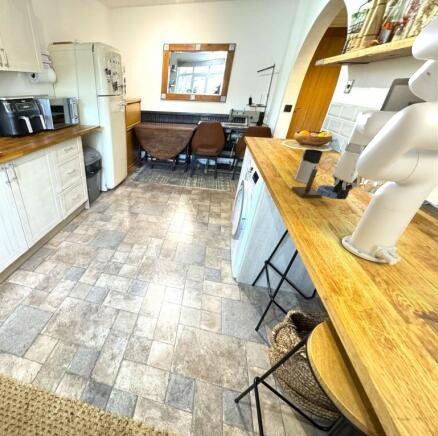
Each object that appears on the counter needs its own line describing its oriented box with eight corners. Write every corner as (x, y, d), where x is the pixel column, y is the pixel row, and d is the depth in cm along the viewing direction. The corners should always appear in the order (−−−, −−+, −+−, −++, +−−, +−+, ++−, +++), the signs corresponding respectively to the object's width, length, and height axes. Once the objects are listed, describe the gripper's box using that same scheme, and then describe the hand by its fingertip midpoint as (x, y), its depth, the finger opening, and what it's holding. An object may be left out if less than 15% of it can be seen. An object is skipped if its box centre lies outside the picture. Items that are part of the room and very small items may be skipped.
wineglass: (349, 174, 112) (383, 176, 106) (345, 176, 118) (377, 179, 112) (346, 188, 112) (379, 191, 107) (342, 190, 118) (374, 193, 113)
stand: (321, 197, 106) (332, 173, 100) (301, 197, 106) (310, 172, 100) (310, 189, 113) (319, 166, 108) (291, 189, 114) (299, 166, 108)
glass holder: (298, 175, 130) (308, 147, 122) (327, 183, 120) (340, 154, 113) (291, 179, 125) (300, 150, 118) (320, 187, 116) (333, 157, 108)
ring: (352, 199, 91) (355, 194, 90) (326, 199, 91) (328, 194, 90) (335, 189, 100) (337, 185, 99) (311, 189, 100) (312, 184, 99)
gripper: (389, 154, 76) (364, 206, 85) (352, 144, 90) (333, 190, 99) (366, 154, 76) (343, 206, 85) (332, 144, 90) (315, 189, 99)
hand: (338, 197), depth 92 cm, fingers closed on ring, 2 cm apart
